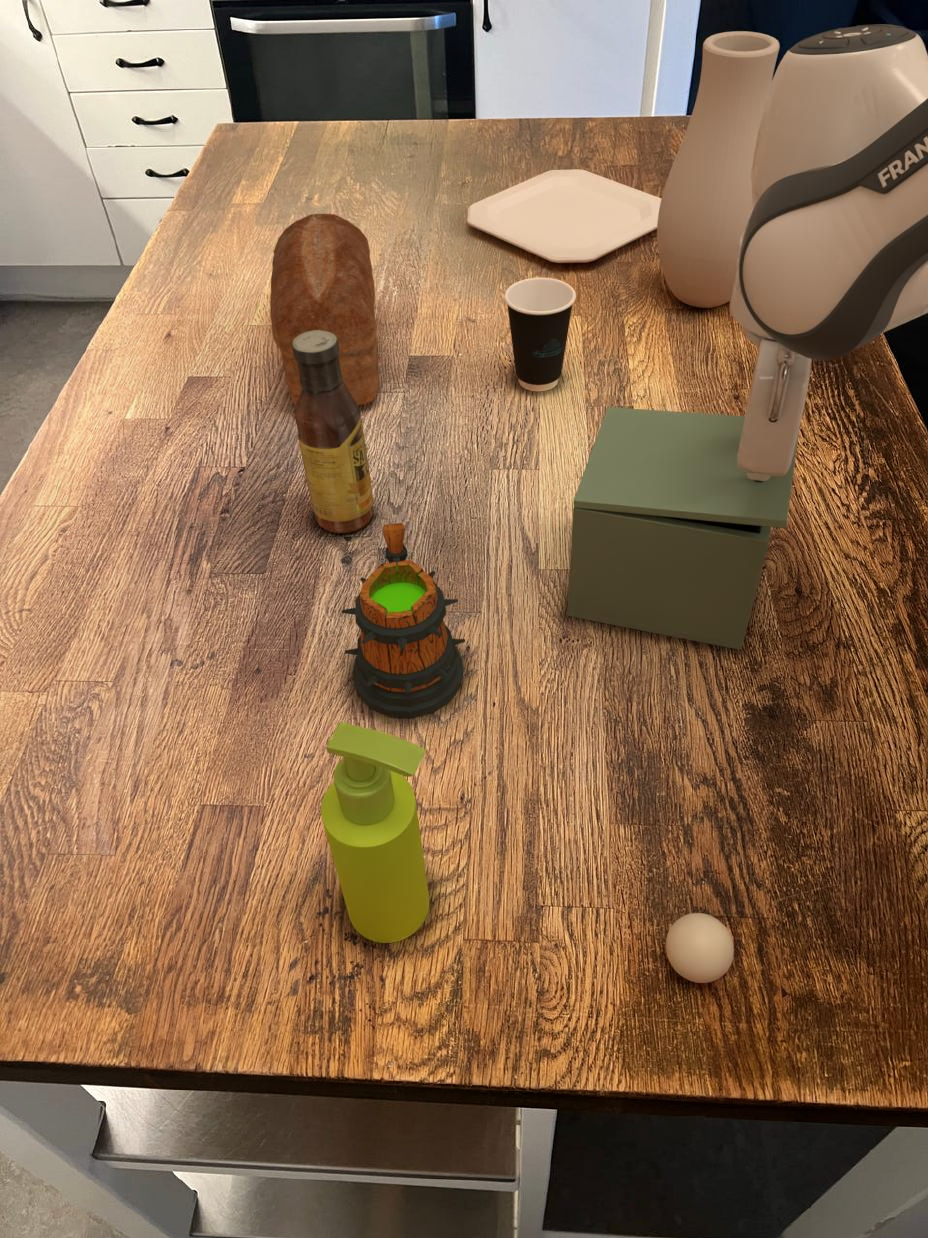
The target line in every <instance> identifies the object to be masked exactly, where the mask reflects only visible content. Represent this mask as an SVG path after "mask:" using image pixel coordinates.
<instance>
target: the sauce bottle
mask: <svg viewBox="0 0 928 1238" xmlns="http://www.w3.org/2000/svg"><path fill="white" fill-rule="evenodd" d="M292 347H293V353H294V357H295V360H296V361H297V363H298V368H299V373H300V378H301V379H300V384H301V386H302V391H301V393H300V395H299V398H298V400H297V401H296V405H294V421H295V424H296V427H297V432H298V433H297V437H298V439H297V440H298V445H299V448H300V454H301V459H302V463H303V468H304V474H305V479H306V483H307V488H308V489H307V490H308V493H309V498H310V502H311V507H312V510H313V511H312V512H314V518H315V520H316V522H317V524H318V525H319V526H320V527H321V528H323V529H324V530H325V531H327V532H330V533H334V534H347V533H352V532H357V531H359V530H361V529H362V528H364V527H365V526H366V525H367V524H368V523H369V522H370V521H371V520H372V517H373V515H374V494H373V488H372V486H373V485H372V481H371V474H370V467H369V466H370V465H369V460H368V459H369V458H368V453H367V446H366V445H367V444H366V440H365V431H364V425H363V424H364V423H363V417H362V413H361V409H360V407H359V406H358V405H357V404H356V402H355V400H354V399H353V397H352V396H351V394H350V392H349V390H348V389H347V387H346V385H345V383H344V381H343V380H342V374H341V371H340V363H339V358H338V355H339V345H338V340H337V337H336V336H335V335H334V334H332V333H330V332H327V331H322V330H313V331H308V332H305V333H302V334H301V335H299V336H297V337H296V338H295V339H294V340H293V342H292Z"/></svg>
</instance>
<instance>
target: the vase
mask: <svg viewBox="0 0 928 1238" xmlns="http://www.w3.org/2000/svg"><path fill="white" fill-rule="evenodd" d="M779 51H780V42H779V40H778V39H776V38H775V37H773V36H770V35H769V34H764V33H761V32H755V31H746V30H745V31H744V30H741V31H740V30H739V31H737V30H736V31H735V30H734V31H725V32H720V33H715V34H712V35H710V36H709V37H707V38H706V39H705V40H704V41H703V43H702V60H701V72H700V78H699V84H698V89H697V93H696V99H695V103H694V107H693V110H692V113H691V116H690V119H689V122H688V125H687V127H686V130H685V133H684V135H683V137H682V141H681V143H680V145H679V148H678V151H677V153H676V155H675V158H674V160H673V162H672V165H671V168H670V171H669V173H668V176H667V179H666V181H665V185H664V188H663V192H662V195H661V203H660V208H659V213H658V223H657V229H656V241H657V243H656V244H657V251H658V256H659V262H660V266H661V270H662V273H663V277H664V279H665V282H666V284H667V286H668V288H669V290H670V291H671V293H672V295H674V296H675V298H677V300H678V301H680V302H682V303H684V304H686V305H688V306H691V307H695V308H701V309H702V308H703V309H710V308H715V307H716V308H717V307H719V306H723V305H724V304H727V303H728V302H730V299H731V293H732V287H733V281H734V275H735V269H736V263H737V257H738V250H739V245H740V239H741V236H742V233H743V231H744V228H745V226H746V224H747V222H748V220H749V217H750V214H751V208H752V196H751V189H750V178H751V171H752V164H753V159H754V153H755V147H756V142H757V137H758V132H759V127H760V123H761V119H762V114H763V110H764V106H765V103H766V99H767V96H768V92H769V89H770V86H771V83H772V80H773V78H774V72H775V67H776V62H777V59H778V54H779Z"/></svg>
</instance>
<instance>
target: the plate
mask: <svg viewBox="0 0 928 1238" xmlns="http://www.w3.org/2000/svg"><path fill="white" fill-rule="evenodd" d="M661 199H662V197H658V196H656V195H653V194H650V193H648V192H645V191H643V190H639V189H636V188H634V187H632V186H629V185H626V184H623V183H620V182H618V181H615V180H612V179H609V178H607V177H605V176H602V175H598V174H596V173H593V172H590V171H588V170H585V169H577V168H576V169H550V170H547V171H544V172H543V173H540V174H538V175H535V176H533V177H531V178H529V179H526V180H524V181H522V182H520V183H517V184H515V185H513V186H510V187H508V188H506V189H504V190H502V191H499V192H497V193H494V194H492V195H490V196H488V197H485V198H483V199H481V200H478V201H476V202H474V203H472V204H470V205H469V207H468V209H467V218H466V219H467V220H466V222H467V224H468V225H469V226H470V227H473V228H475V229H477V230H479V231H482V232H484V233H486V234H488V235H490V236H493V237H495V238H497V239H500V240H501V241H503V242H507V243H509V244H511V245H513V246H515V247H517V248H519V249H522V250H524V251H526V252H528V253H531V254H533V255H535V256H537V257H540V258H542V259H544V260H547V261H548V262H551V263H557V264H574V263H576V264H577V263H579V264H581V263H582V264H583V263H590V262H594V261H597V260H599V259H600V258H602V257H605V256H606V255H608V254H610V253H612V252H614V251H616V250H618V249H619V248H622V247H624V246H625V245H628V244H629V243H631V242H634V241H636V240H637V239H639V238H641V237H643V236H645V235H647V234H649V233H651V232H653V231H655V230H657V223H658V213H659V208H660V203H661Z"/></svg>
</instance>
